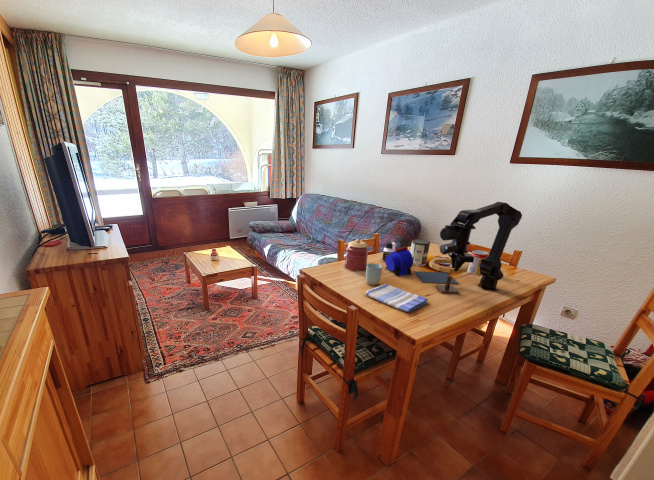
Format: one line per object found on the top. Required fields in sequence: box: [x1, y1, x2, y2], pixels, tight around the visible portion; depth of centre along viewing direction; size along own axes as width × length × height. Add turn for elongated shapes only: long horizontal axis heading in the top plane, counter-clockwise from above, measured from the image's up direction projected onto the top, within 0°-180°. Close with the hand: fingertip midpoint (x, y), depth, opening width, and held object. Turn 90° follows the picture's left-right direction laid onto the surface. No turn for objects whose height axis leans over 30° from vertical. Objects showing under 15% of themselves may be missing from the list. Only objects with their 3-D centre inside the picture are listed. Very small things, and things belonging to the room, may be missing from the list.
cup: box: [365, 263, 383, 286], centre depth 161 cm, size 8×8×10 cm
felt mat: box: [413, 271, 459, 285], centre depth 171 cm, size 18×16×1 cm
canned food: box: [467, 249, 489, 276], centre depth 177 cm, size 8×8×12 cm
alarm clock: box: [385, 245, 414, 277], centre depth 176 cm, size 12×12×15 cm
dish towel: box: [365, 283, 429, 313], centre depth 145 cm, size 17×24×3 cm
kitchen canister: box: [344, 238, 369, 271], centre depth 183 cm, size 13×13×18 cm
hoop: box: [428, 257, 469, 274], centre depth 155 cm, size 17×17×2 cm
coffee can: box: [409, 238, 431, 267], centre depth 190 cm, size 10×10×14 cm
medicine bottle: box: [381, 241, 397, 263], centre depth 195 cm, size 7×7×12 cm
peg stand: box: [435, 275, 459, 295], centre depth 154 cm, size 8×8×8 cm
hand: (454, 270), depth 148 cm, fingers closed on hoop, 2 cm apart
